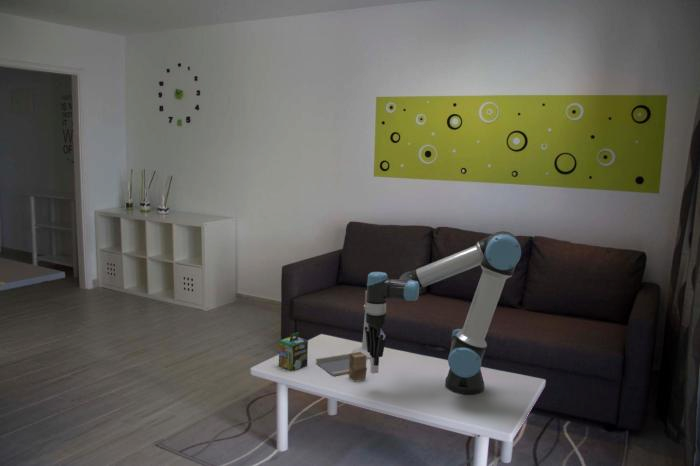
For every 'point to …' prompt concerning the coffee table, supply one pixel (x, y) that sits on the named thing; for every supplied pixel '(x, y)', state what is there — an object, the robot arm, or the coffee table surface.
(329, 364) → the grey flat square piece
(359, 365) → the block
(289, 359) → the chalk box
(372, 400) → the coffee table surface
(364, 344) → the candlestick
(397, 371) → the coffee table surface
